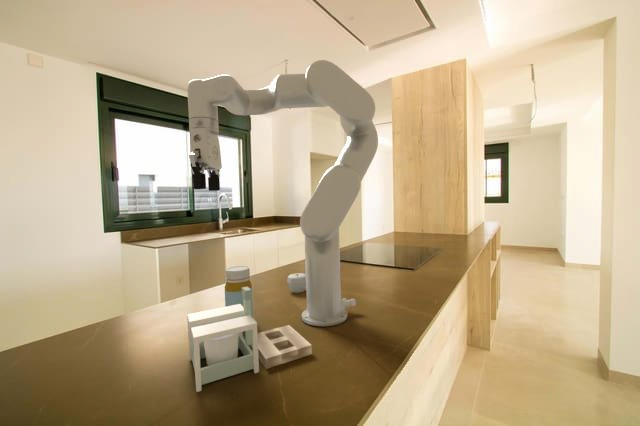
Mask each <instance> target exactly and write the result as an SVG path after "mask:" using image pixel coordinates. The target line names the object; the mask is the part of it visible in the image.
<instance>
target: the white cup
mask: <svg viewBox="0 0 640 426" xmlns="http://www.w3.org/2000/svg"><path fill="white" fill-rule="evenodd" d="M238 338H239V333H235V334H231V335H227V336H223V337H219V338H214V339H210V340H206V341H204V348H205V355H206V358H205V360H206V367H207V366H210V365H214V364H217V363H221V362H224V361H228V360H231V359H235V358H238V357H239V356H238V355H239V349H238Z"/></svg>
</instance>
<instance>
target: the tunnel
mask: <svg viewBox="0 0 640 426" xmlns="http://www.w3.org/2000/svg"><path fill="white" fill-rule="evenodd" d="M243 315H244V307H243V306H242V305H241V304H237V305H232V306H227V307H225V306H222V307H218V308H211V309H207V310H202V311H197V312H192V313H187V316H186V317H187V336H188V354H189V355H188V356H189V361H192V348H191V347H193V346H194V360H195V370H194V377H195V378H194V380H195V390H196V393H199V392H201V391H202V390H203V389H202V385H201V370H200V368H201V359H200V349H199V345H201V344H204V341H206V340H210V339H214V338H219V337H223V336H227V335H231V334H235V333H239V335H242V336H243V334H244V333H243V332H245V331H247V330H251V329H252V343H253V349H252V351H253V366H254V369H253V373H254V374H258V373H260V364H259V361H260V359H259V358H258V335H257V333H258V323H257V321H256V319H254V317H253V318H252V317H251V315H247V316H243ZM242 316H243V317H242ZM243 337H244V336H243Z"/></svg>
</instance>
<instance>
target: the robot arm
mask: <svg viewBox="0 0 640 426" xmlns="http://www.w3.org/2000/svg"><path fill="white" fill-rule="evenodd" d="M186 86H187V107H188V124H189V125H188V127H189V129H188V130H189V134H190V154H188V159H189V161H190V164H189V165H190V167H191V174H192V186H193V188H192V189H193V190H205V189H207V187H208V191H209V192H217V191H220V190H221V184H220V183H221V182H220V177H221V175H220V172H221V169H222V167H223V166H222V165H223V164H222V155H221V147H220V146H221V145H220V141H219V136H218V135H219V133H220V131H219V129H220V128H219V111H218V110H219V109H218V105H219V106H221V107H222V108H223V107H224V108H225V109H226V110H227V111H228V112H230V113H231V114H233V115H236V116H259V115H260V116H261V115H266V114H270V113H274V112H277V111H278V110H282V109H302V108H303V109H304V108H305V109H306V108H326V107H330V108H331V109H332V110H333V111H334V112H335V113H336V114H337V115H338V116H339V119H340V121H339V122H340V126H341V127H342V130H343V131H344V133H345V135H346V143H345V145H344V146H343V148H342V150H341V152H340V153H339V156H338V158H337V159H336V161H335V162H334V165H332V166H331V167H329V168H328V169H326V171H325V172H324V174H323V175H322V177H321V178H320V181H318V182H319V183H318V184H317V186H316V188H315V189H314V191H313V193H312V194H311V196H310V198H309V200H308V201H307V204H306V206H305V207H304V208H303V211H302V213H301V215H300V218H299V224H300V225H299V227H300V229H301V232H302V234H303V235H304V255H305V256H304V260H305V261H304V262H305V263H304V265H305V274H306V288H305V290H306V295H305V296H306V309H305V310H304V311H302V313H301V320H302V321H303V323H305V324H307V325H310V326H314V327H331V326H332V327H333V326H336V325H340V324H342V323H344V322H345V321H346V320H347V319H348V312H347V310H346V309H347V308H348V307H354V306H357V305H356V304H357V301H356V299H355V298H350V299H348V298H346V297H343V298H342V289H341V288H342V286H341V284H342V283H341V252H340V250H341V249H340V248H341V247H340V226H341V225H342V223H343V221H344V220H345V218H346V216H347V214H348V213H349V211H350V210H351V208H352V206H353V205H354V202H355V201H356V199H357V197H358V195H359V193H360V190H361V187H362V185H361V184H362V181H363V179H364V177H365V175H366V173H367V172H368V170H369V168H370V166H371V164H372V162H373V160H374V158H375V156H376V153H377V151H378V146H379V137H378V136H379V135H378V132H377V129H376V126H375V125H374V122H373V119H374V116H375V113H376V104H375V100H374V98H373V97H372V96H371V94H370V93H369V92H368V91H367V90H366V88H364V87H363V86H362V85H361V84H360V83H358V82H357V81H356V80H355V79H354V78H353V77H351V76H350V75H348V73H347V72H346V71H344V70H342V68H340V67H339V66H338V65H336V64H335V63H333V62H332V61H329V60H325V59H319V60H315V61H314V62H312V63H311V64H310V65H309V66H308V67H307V69H306V73H288V74H287V73H285V74H283V73H282V74H278V75H277V76H276V77H274V79H273V81H271V83H270V85H268V86H266V87H263V88H258V89H244V87H242V86H241V84H240V83H239V82H238V81H237V79H236V78H234V77H233V76H232V75H229V74H221V75H220V74H219V75H217V76H214V77H210V78H206V79H203V78H200V79H199V78H198V79H197V78H194V79H192V80H190V81H189V82H188V83H187V85H186ZM205 171H207V175H208V177H207V179H206V173H205ZM207 183H208V184H207Z"/></svg>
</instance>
